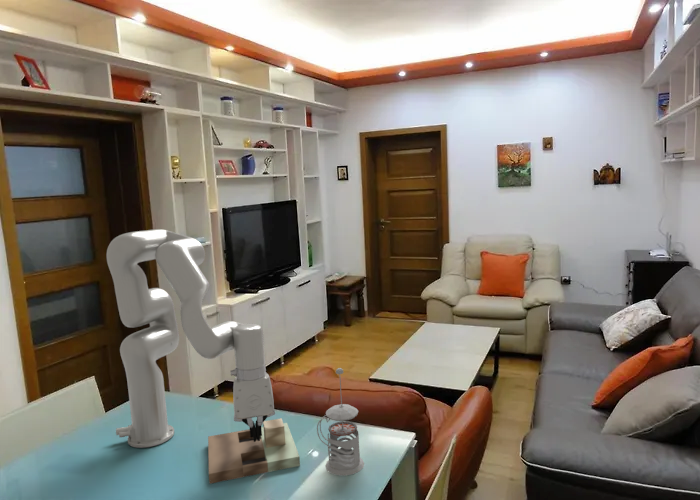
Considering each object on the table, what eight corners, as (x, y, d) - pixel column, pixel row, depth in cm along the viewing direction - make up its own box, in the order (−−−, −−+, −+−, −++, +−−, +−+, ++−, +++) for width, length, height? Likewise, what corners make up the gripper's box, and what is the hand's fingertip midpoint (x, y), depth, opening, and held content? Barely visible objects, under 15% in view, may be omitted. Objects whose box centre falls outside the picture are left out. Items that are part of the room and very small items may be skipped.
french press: (356, 478, 120) (351, 377, 117) (312, 471, 124) (306, 373, 121) (369, 457, 129) (364, 363, 126) (327, 451, 133) (322, 359, 130)
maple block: (266, 447, 132) (265, 429, 131) (264, 439, 136) (263, 421, 136) (285, 444, 133) (284, 426, 132) (282, 435, 138) (281, 418, 137)
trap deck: (209, 483, 121) (208, 473, 120) (208, 445, 140) (208, 436, 140) (300, 465, 127) (299, 456, 126) (287, 430, 146) (286, 422, 145)
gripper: (221, 381, 125) (227, 451, 127) (281, 372, 129) (286, 440, 131) (221, 371, 133) (226, 437, 135) (277, 363, 136) (282, 427, 139)
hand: (256, 438), depth 133 cm, fingers closed
